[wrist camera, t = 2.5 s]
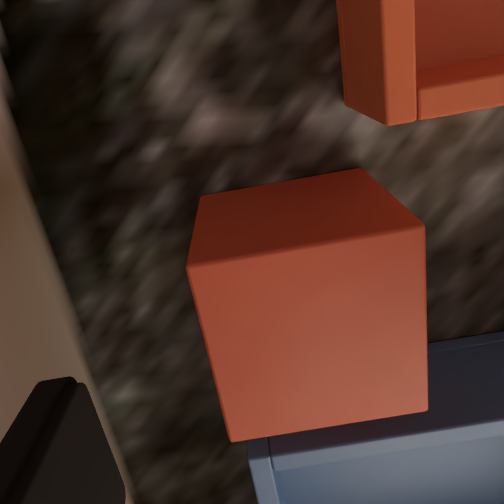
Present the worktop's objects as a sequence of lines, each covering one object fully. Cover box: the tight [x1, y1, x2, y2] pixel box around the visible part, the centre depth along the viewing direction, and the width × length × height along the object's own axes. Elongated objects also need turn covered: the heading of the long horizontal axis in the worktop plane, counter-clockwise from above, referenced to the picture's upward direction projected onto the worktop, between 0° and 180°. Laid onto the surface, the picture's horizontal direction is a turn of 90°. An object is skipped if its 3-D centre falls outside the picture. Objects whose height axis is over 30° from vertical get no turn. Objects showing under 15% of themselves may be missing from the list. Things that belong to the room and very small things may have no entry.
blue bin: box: [247, 331, 504, 504], centre depth 15 cm, size 12×10×4 cm
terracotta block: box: [186, 168, 428, 442], centre depth 11 cm, size 4×4×4 cm
